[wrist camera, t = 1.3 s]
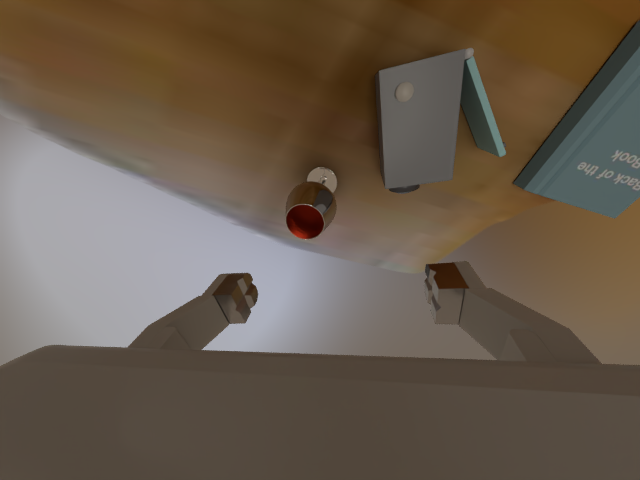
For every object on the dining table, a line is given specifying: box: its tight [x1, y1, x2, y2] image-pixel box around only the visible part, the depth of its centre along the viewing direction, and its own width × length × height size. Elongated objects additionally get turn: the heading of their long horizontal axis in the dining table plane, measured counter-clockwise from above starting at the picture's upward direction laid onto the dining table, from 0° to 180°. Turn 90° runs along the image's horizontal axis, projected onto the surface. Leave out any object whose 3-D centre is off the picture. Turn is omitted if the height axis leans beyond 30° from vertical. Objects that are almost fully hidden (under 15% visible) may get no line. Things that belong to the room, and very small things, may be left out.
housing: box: [375, 49, 465, 194], centre depth 36 cm, size 18×10×10 cm, turn 11°
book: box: [513, 21, 640, 218], centre depth 34 cm, size 23×16×5 cm
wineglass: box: [285, 167, 337, 239], centre depth 40 cm, size 8×8×18 cm
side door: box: [460, 48, 506, 157], centre depth 33 cm, size 15×2×8 cm, turn 36°
